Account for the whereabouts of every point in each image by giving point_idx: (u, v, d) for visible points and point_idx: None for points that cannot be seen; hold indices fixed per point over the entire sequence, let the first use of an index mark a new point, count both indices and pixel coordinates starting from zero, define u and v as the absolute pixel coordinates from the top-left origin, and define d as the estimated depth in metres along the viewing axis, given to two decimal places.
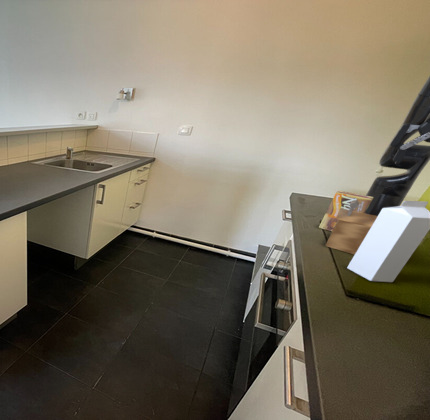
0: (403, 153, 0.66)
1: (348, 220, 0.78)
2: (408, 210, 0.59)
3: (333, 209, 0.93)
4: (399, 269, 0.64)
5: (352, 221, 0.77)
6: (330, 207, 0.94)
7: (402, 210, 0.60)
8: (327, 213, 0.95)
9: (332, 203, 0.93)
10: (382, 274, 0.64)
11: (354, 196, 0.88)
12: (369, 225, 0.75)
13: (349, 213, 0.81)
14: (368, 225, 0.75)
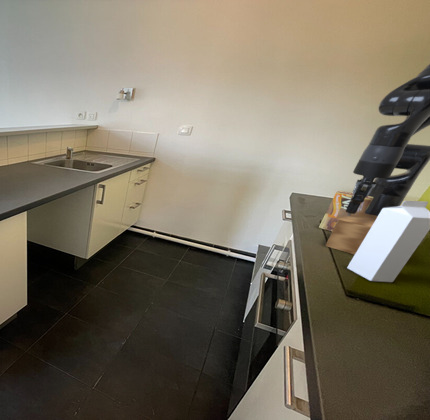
0: None
1: (348, 220, 0.78)
2: (408, 210, 0.59)
3: (333, 209, 0.93)
4: (399, 269, 0.64)
5: (352, 221, 0.77)
6: (330, 207, 0.94)
7: (402, 210, 0.60)
8: (327, 213, 0.95)
9: (332, 203, 0.93)
10: (382, 274, 0.64)
11: None
12: (369, 225, 0.75)
13: (349, 213, 0.81)
14: (368, 225, 0.75)
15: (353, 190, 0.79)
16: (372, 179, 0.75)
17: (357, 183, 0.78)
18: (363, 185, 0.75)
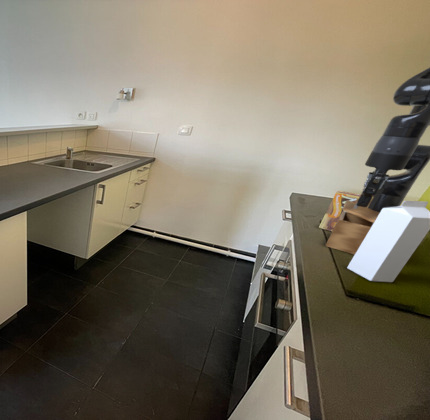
0: (361, 194, 0.81)
1: (354, 213, 0.77)
2: (408, 210, 0.59)
3: (333, 209, 0.93)
4: (399, 269, 0.64)
5: (358, 214, 0.76)
6: (330, 207, 0.94)
7: (402, 210, 0.60)
8: (327, 213, 0.95)
9: (332, 203, 0.93)
10: (382, 274, 0.64)
11: (354, 196, 0.88)
12: (373, 221, 0.74)
13: (356, 206, 0.79)
14: (372, 220, 0.74)
15: (365, 183, 0.77)
16: (385, 171, 0.73)
17: (369, 176, 0.76)
18: (376, 177, 0.72)
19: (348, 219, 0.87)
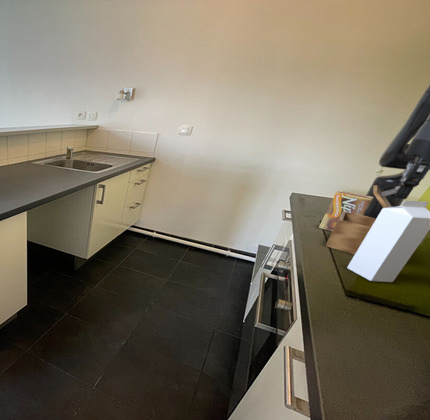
0: (398, 185, 0.75)
1: (380, 200, 0.72)
2: (408, 210, 0.59)
3: (333, 209, 0.93)
4: (399, 269, 0.64)
5: (382, 202, 0.72)
6: (330, 207, 0.94)
7: (402, 210, 0.60)
8: (327, 213, 0.95)
9: (332, 203, 0.93)
10: (382, 274, 0.64)
11: (354, 196, 0.88)
12: None
13: (385, 194, 0.74)
14: None
15: (405, 173, 0.71)
16: None
17: (410, 165, 0.70)
18: (419, 166, 0.66)
19: (348, 219, 0.87)
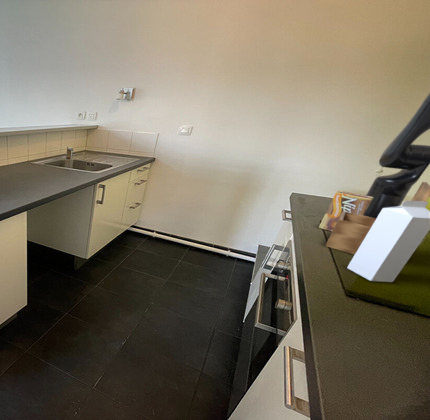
0: None
1: (425, 198, 0.66)
2: (408, 210, 0.59)
3: (333, 209, 0.93)
4: (399, 269, 0.64)
5: None
6: (330, 207, 0.94)
7: (402, 210, 0.60)
8: (327, 213, 0.95)
9: (332, 203, 0.93)
10: (382, 274, 0.64)
11: (354, 196, 0.88)
12: None
13: None
14: None
15: None
16: None
17: None
18: None
19: (348, 219, 0.87)
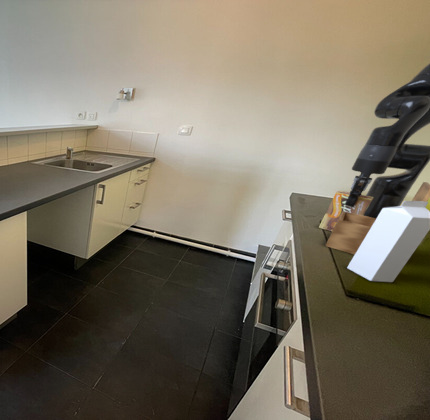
0: None
1: (426, 198, 0.66)
2: (408, 210, 0.59)
3: (333, 209, 0.93)
4: (399, 269, 0.64)
5: (424, 201, 0.67)
6: (330, 207, 0.94)
7: (402, 210, 0.60)
8: (327, 213, 0.95)
9: (332, 203, 0.93)
10: (382, 274, 0.64)
11: None
12: None
13: None
14: None
15: None
16: (368, 175, 0.84)
17: (355, 179, 0.87)
18: (360, 181, 0.84)
19: (348, 219, 0.87)
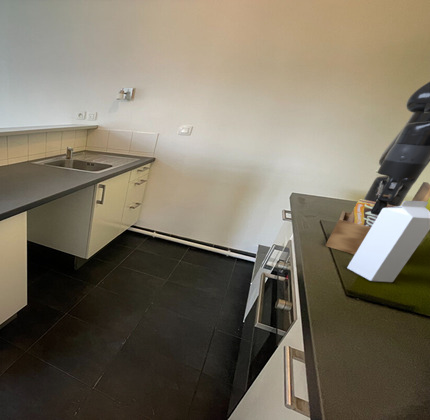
0: (374, 199, 0.80)
1: (426, 198, 0.66)
2: (408, 210, 0.59)
3: (354, 220, 0.81)
4: (399, 269, 0.64)
5: (424, 201, 0.67)
6: (351, 218, 0.81)
7: (402, 210, 0.60)
8: None
9: (353, 214, 0.81)
10: (382, 274, 0.64)
11: None
12: None
13: None
14: None
15: (379, 190, 0.74)
16: (399, 180, 0.71)
17: (382, 184, 0.75)
18: (392, 183, 0.70)
19: None
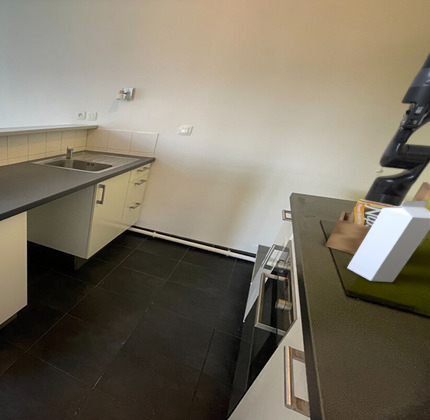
0: (397, 133, 0.79)
1: (426, 198, 0.66)
2: (408, 210, 0.59)
3: (354, 220, 0.81)
4: (399, 269, 0.64)
5: (424, 201, 0.67)
6: (351, 218, 0.81)
7: (402, 210, 0.60)
8: None
9: (353, 214, 0.81)
10: (382, 274, 0.64)
11: (380, 206, 0.76)
12: None
13: None
14: None
15: (403, 118, 0.73)
16: (425, 105, 0.70)
17: (406, 113, 0.73)
18: (418, 107, 0.69)
19: None
